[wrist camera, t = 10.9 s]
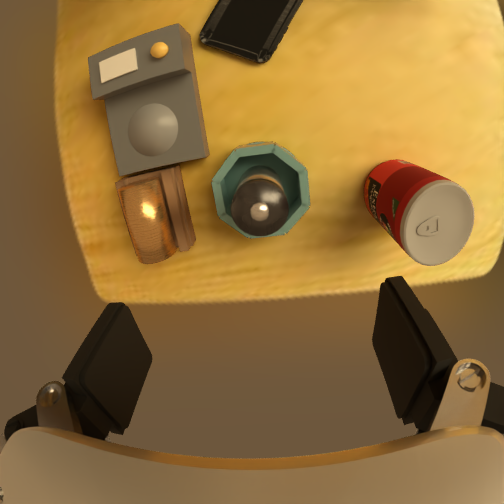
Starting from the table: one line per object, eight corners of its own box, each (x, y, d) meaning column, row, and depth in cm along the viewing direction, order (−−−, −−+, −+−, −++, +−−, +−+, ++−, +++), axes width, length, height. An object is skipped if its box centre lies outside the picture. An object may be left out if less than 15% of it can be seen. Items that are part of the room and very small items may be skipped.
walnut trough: (124, 177, 30) (113, 183, 27) (179, 164, 29) (171, 169, 26) (144, 246, 34) (135, 256, 31) (195, 239, 33) (190, 250, 30)
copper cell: (129, 182, 28) (110, 193, 24) (164, 174, 28) (149, 184, 24) (148, 251, 32) (134, 270, 28) (182, 247, 32) (171, 266, 28)
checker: (108, 62, 23) (84, 57, 19) (190, 34, 22) (176, 21, 18) (127, 172, 29) (106, 183, 25) (209, 154, 28) (199, 161, 24)
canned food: (350, 177, 29) (390, 209, 19) (407, 146, 26) (464, 165, 17) (376, 232, 31) (416, 282, 22) (428, 202, 29) (480, 240, 19)
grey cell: (235, 168, 28) (224, 188, 20) (278, 162, 28) (285, 179, 20) (242, 209, 30) (235, 243, 22) (284, 203, 30) (292, 235, 22)
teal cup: (212, 148, 28) (204, 153, 25) (300, 137, 27) (305, 139, 24) (226, 228, 32) (222, 242, 29) (307, 219, 31) (313, 232, 28)
